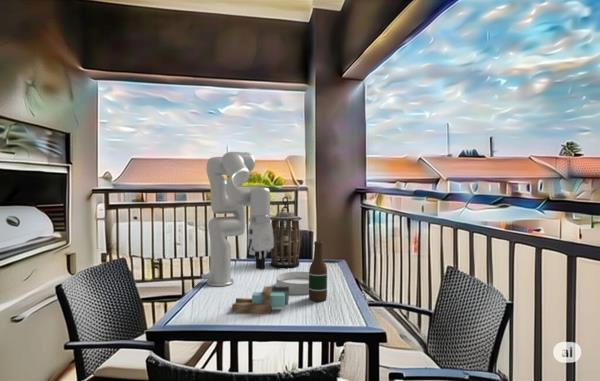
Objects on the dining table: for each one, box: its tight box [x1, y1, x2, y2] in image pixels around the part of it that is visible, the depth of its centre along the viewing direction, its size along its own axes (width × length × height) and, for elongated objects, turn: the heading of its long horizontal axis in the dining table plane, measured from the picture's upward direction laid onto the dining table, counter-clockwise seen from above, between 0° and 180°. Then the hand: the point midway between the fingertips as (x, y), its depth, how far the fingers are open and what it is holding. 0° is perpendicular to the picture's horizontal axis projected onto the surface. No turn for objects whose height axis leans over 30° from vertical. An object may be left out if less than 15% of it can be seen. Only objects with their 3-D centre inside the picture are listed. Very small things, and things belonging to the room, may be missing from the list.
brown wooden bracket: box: [231, 285, 273, 314], centre depth 142 cm, size 14×8×8 cm, turn 88°
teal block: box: [251, 291, 285, 307], centre depth 142 cm, size 12×4×4 cm, turn 88°
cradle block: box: [269, 285, 290, 306], centre depth 152 cm, size 8×8×5 cm
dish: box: [275, 271, 309, 296], centre depth 173 cm, size 22×22×5 cm
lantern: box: [270, 196, 302, 270], centre depth 218 cm, size 19×19×40 cm
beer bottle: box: [308, 240, 328, 303], centre depth 156 cm, size 8×8×24 cm
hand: (260, 268), depth 142 cm, fingers closed
